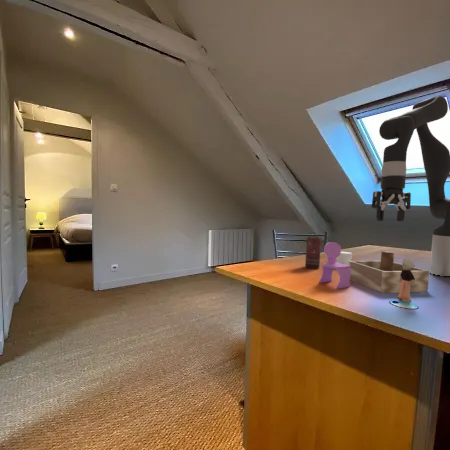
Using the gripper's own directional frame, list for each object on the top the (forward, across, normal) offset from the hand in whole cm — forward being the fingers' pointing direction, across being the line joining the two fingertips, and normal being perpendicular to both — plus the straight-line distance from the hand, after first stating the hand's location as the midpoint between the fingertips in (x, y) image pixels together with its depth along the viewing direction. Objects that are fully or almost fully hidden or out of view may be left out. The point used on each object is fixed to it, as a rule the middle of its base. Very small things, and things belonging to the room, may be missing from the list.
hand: (390, 221), depth 102 cm
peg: (+23, 0, 0) cm, 23 cm away
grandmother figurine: (+24, +8, +16) cm, 29 cm away
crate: (+23, 0, 0) cm, 23 cm away
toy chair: (+24, +20, -2) cm, 31 cm away
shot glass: (+24, -3, -29) cm, 38 cm away
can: (+23, +13, -29) cm, 39 cm away
